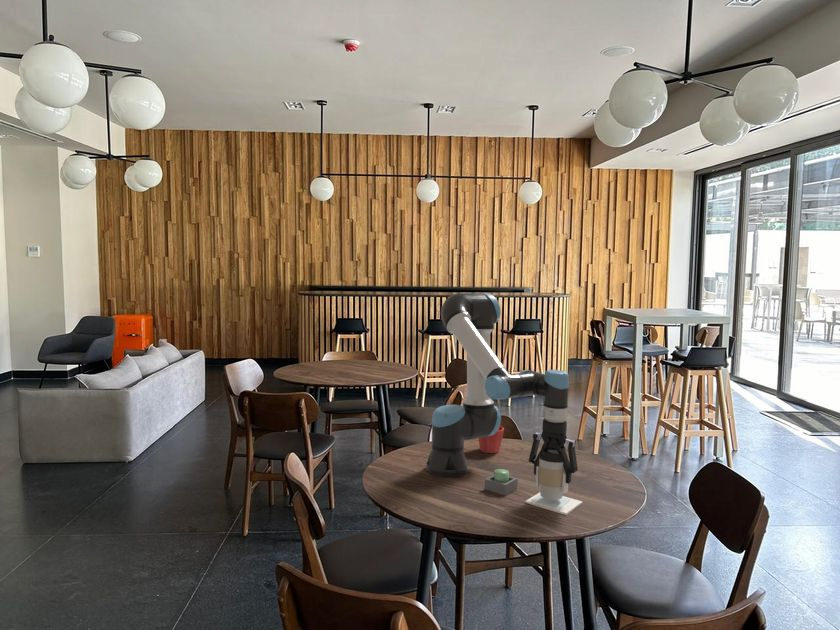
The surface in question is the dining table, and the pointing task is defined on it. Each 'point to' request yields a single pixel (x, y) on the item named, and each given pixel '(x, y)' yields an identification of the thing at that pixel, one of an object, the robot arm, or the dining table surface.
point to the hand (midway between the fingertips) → (551, 488)
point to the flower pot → (491, 442)
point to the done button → (501, 475)
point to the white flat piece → (555, 504)
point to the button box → (501, 485)
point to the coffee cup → (551, 474)
